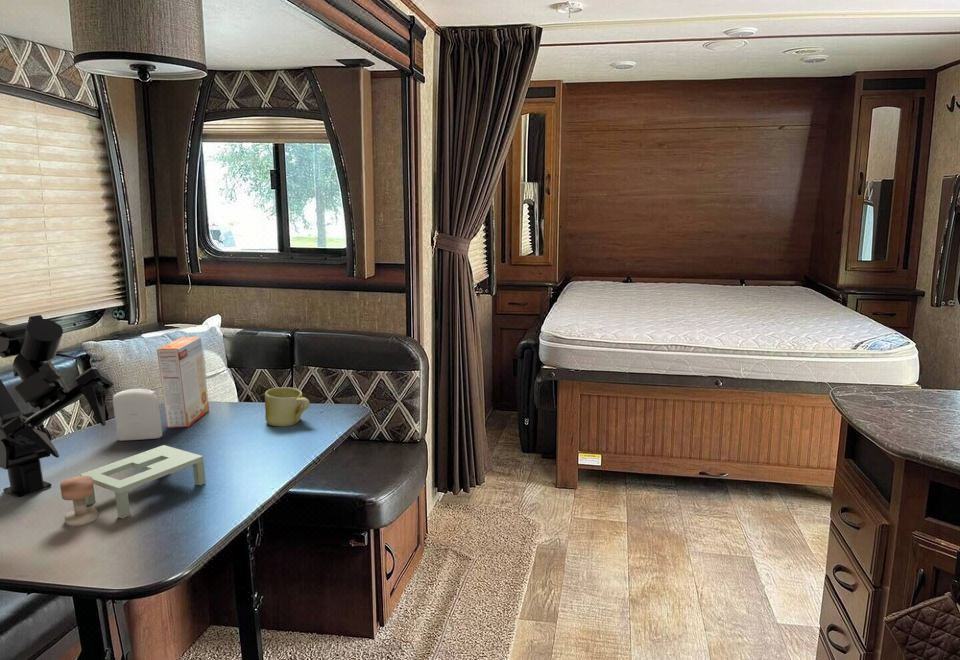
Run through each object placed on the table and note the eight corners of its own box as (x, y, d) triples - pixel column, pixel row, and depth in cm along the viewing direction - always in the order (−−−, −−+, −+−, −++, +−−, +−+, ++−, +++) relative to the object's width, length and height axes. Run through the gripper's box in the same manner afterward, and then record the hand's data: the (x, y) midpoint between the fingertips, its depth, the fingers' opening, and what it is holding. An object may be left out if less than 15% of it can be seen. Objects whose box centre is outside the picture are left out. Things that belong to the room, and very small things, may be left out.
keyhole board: (83, 503, 138) (79, 474, 137) (166, 471, 153) (163, 445, 152) (122, 518, 131) (118, 488, 130) (205, 483, 146) (202, 456, 145)
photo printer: (115, 442, 172) (108, 393, 170) (122, 436, 176) (115, 388, 174) (159, 440, 173) (153, 390, 170) (165, 434, 177) (159, 386, 175)
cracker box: (188, 411, 195) (180, 336, 191) (210, 410, 195) (202, 336, 191) (164, 428, 181) (155, 348, 177) (188, 428, 181) (179, 347, 177)
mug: (249, 417, 182) (261, 380, 182) (280, 418, 191) (292, 383, 190) (278, 435, 175) (291, 397, 175) (310, 436, 184) (321, 399, 183)
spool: (60, 522, 131) (54, 483, 129) (87, 510, 135) (82, 473, 134) (75, 528, 128) (69, 489, 127) (103, 517, 132) (98, 479, 131)
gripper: (-36, 394, 123) (5, 464, 119) (63, 331, 128) (106, 395, 124) (3, 412, 134) (42, 477, 129) (94, 353, 138) (134, 413, 134)
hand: (80, 440), depth 129 cm, fingers open, 9 cm apart
